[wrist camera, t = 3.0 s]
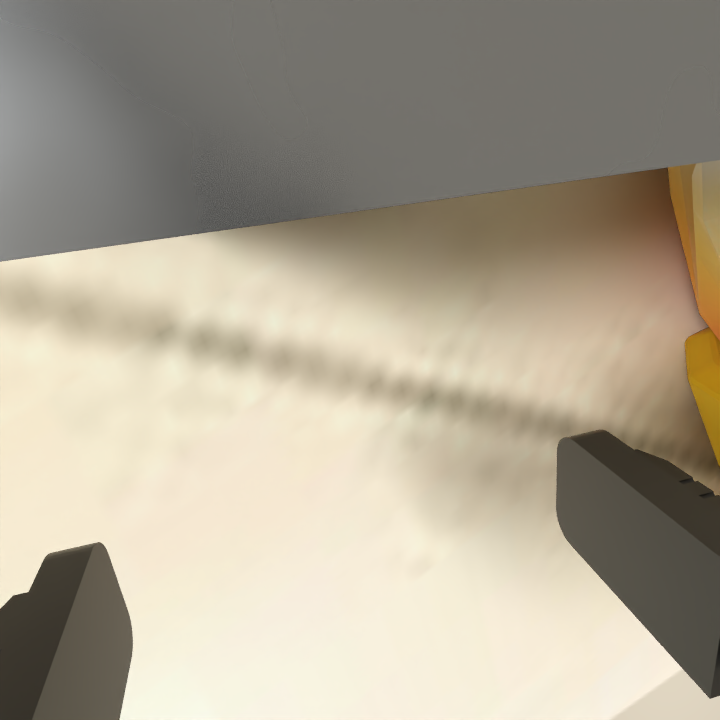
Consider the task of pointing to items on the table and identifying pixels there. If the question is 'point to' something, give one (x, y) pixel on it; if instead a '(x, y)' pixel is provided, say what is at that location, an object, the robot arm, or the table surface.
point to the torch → (702, 281)
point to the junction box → (331, 107)
